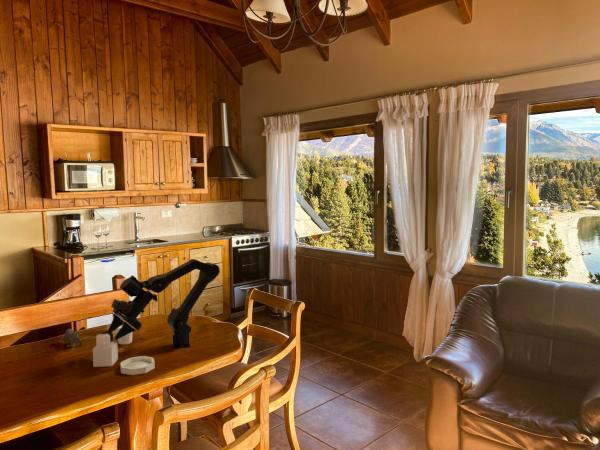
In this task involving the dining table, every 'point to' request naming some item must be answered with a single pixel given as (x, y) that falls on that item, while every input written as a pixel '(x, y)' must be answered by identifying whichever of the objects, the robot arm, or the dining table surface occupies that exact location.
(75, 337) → the dog figurine
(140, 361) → the bowl
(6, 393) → the dining table surface
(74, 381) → the dining table surface
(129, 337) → the shot glass
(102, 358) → the medicine bottle
